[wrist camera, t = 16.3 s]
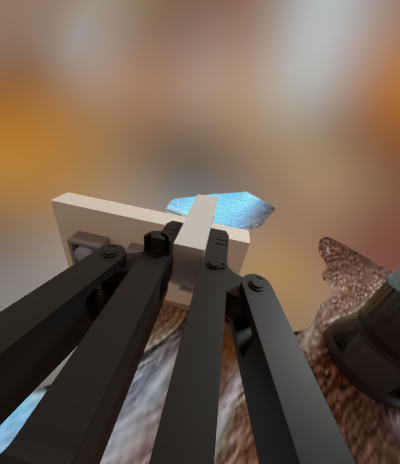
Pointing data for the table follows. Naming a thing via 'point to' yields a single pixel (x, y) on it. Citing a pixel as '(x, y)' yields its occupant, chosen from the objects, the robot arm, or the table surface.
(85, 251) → the slate button
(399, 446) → the table surface
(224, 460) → the table surface
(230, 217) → the table surface
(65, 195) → the button panel
